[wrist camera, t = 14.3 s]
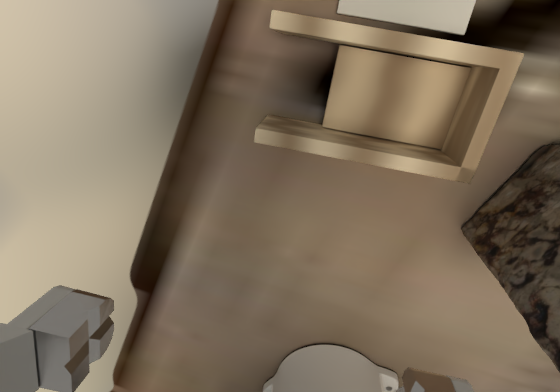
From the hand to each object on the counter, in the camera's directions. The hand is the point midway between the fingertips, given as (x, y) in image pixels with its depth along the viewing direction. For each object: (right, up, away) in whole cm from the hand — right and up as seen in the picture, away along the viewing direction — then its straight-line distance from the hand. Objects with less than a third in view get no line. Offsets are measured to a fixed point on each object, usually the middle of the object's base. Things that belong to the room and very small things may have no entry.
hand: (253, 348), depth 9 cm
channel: (+9, +14, +23) cm, 29 cm away
